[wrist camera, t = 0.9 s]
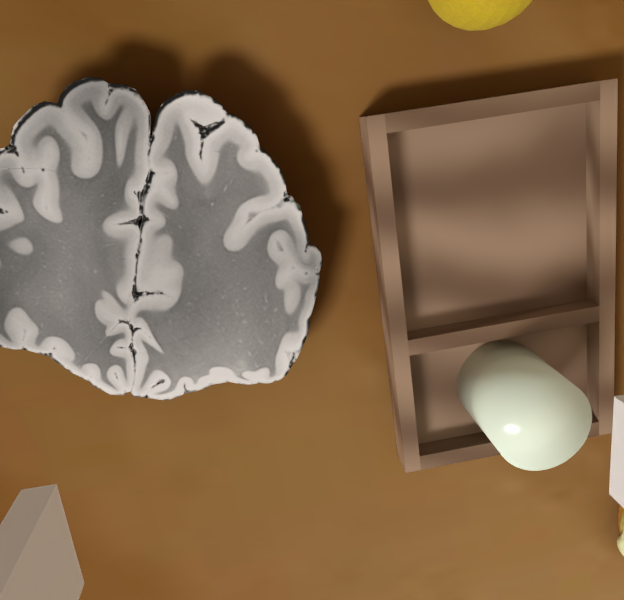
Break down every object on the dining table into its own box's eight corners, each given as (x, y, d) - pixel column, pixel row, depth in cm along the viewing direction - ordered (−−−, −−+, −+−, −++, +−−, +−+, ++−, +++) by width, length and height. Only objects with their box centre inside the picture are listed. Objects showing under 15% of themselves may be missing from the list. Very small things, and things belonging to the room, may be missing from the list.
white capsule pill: (453, 348, 37) (492, 389, 31) (538, 333, 37) (592, 371, 32) (459, 426, 39) (497, 479, 33) (541, 411, 39) (592, 460, 33)
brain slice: (339, 118, 33) (348, 118, 30) (292, 391, 38) (296, 413, 35) (-32, 51, 30) (-61, 44, 27) (-35, 357, 35) (-60, 378, 32)
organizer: (359, 117, 33) (366, 116, 31) (596, 80, 34) (617, 78, 32) (397, 456, 40) (405, 472, 38) (596, 417, 41) (613, 432, 39)
